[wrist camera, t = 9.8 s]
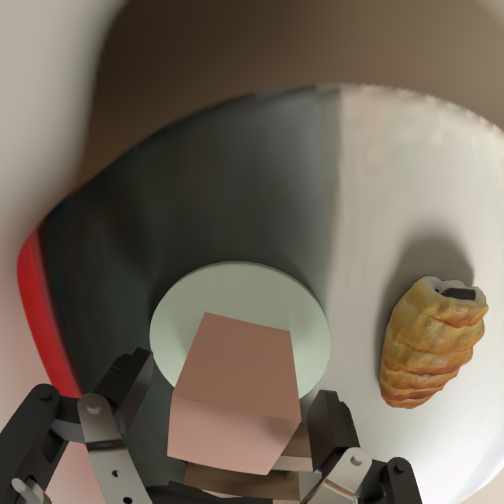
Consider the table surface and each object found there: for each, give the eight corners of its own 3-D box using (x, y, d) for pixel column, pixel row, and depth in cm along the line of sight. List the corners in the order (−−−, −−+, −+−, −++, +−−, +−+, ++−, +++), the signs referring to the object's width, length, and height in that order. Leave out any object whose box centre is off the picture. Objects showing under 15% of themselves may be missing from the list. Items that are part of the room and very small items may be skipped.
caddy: (334, 426, 17) (342, 458, 14) (290, 482, 20) (292, 507, 17) (199, 405, 17) (190, 439, 14) (187, 466, 20) (181, 492, 17)
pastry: (429, 389, 17) (448, 422, 13) (353, 395, 17) (365, 435, 13) (476, 277, 14) (511, 300, 10) (396, 267, 14) (429, 295, 11)
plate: (353, 285, 14) (359, 293, 13) (295, 413, 17) (296, 424, 16) (166, 239, 14) (159, 244, 13) (151, 381, 17) (147, 390, 16)
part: (290, 331, 14) (301, 420, 8) (267, 390, 15) (266, 475, 9) (205, 311, 14) (171, 394, 8) (193, 374, 15) (167, 455, 9)
